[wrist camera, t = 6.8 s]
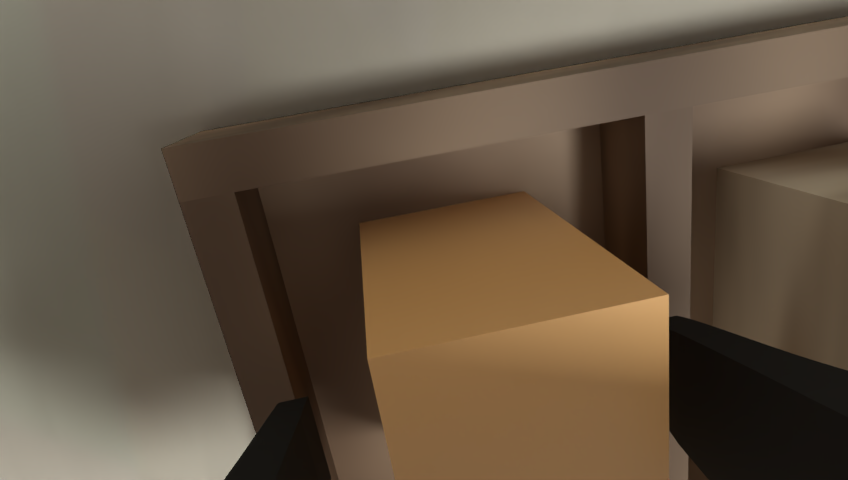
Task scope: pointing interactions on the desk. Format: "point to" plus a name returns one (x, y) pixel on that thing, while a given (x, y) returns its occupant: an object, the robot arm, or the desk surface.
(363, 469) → the slot rack
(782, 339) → the maple block
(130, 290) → the desk surface
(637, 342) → the plug block
